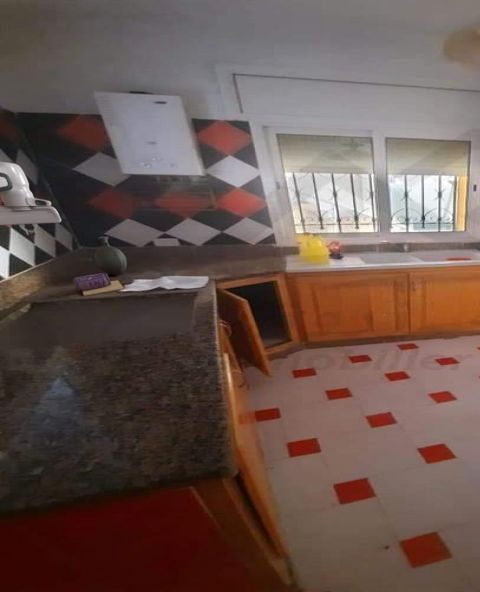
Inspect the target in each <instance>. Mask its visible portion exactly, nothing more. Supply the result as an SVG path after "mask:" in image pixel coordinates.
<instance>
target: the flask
mask: <svg viewBox="0 0 480 592" xmlns="http://www.w3.org/2000/svg"><path fill="white" fill-rule="evenodd" d="M108 239H110V237H109V236H99V237H97V240H100V243H101V246H99V247H98V248H97V249H96V251H95V253H94V260H95V263H96V265H97V267H98V269H100V270H101V272H102V273H107V275H109V276H120V275H122V274H123V273H124V272H125V270H126V268H127V266H128V261H127V257H126V256H125V254H124V253H123V251H121V250H120V249H119V248H117V247H115V246H112V245H110V244H109V241H108Z"/></svg>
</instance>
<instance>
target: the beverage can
mask: <svg viewBox="0 0 480 592" xmlns="http://www.w3.org/2000/svg"><path fill="white" fill-rule="evenodd" d="M110 281H111V280H110V277H109V274H107V273H105V272H99V273H93V274H87V275H81V276H76V277H73V279H72V282H73V284H74V286H75V289H76V290H77V291H78V292H80V293H83V291H87V290H92V289H97V288H102V287H107V286H109V285H111V282H110Z"/></svg>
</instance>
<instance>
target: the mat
mask: <svg viewBox="0 0 480 592" xmlns="http://www.w3.org/2000/svg"><path fill="white" fill-rule="evenodd" d="M110 282H111V285H109V286H107V287H102V288H97V289H92V290H87V291H83V292H82V295H83V296H84V297H85V296H90V295H97V294H103V293H108V292H113V291H114V292H115V291H118V290H119V291H120V290H124V286H123V284H121V282H120V281H119V280H118V279H116V280H110Z"/></svg>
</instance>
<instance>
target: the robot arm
mask: <svg viewBox="0 0 480 592" xmlns="http://www.w3.org/2000/svg"><path fill="white" fill-rule="evenodd" d="M0 198H1V200H2V201H0V226H13V225H15V226H16V225H18V226H19V228H20V229H22V230H23V231H24V232H25V233H26V236H27V235H28V236H31V235H32V236H33V235H38V232H37V229H38V227H39V225H38V224H57V223H61V222H62V218H61V216H60V214H59V212H58V210H57V208H55V207H54V206H52V202H51V201H50V200H47V199H42V198H39V197H38V198H37V197H34V194H33V192H32V191H31V190H30V183H29V180H28V178H27V176H26V174H25V172H24V170H23V169H22V167H21V166H20V165H18V164H17V163H14V162H11V161H6V160H0ZM26 225H32V227H34V228H33V229H27V228H26Z"/></svg>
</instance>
